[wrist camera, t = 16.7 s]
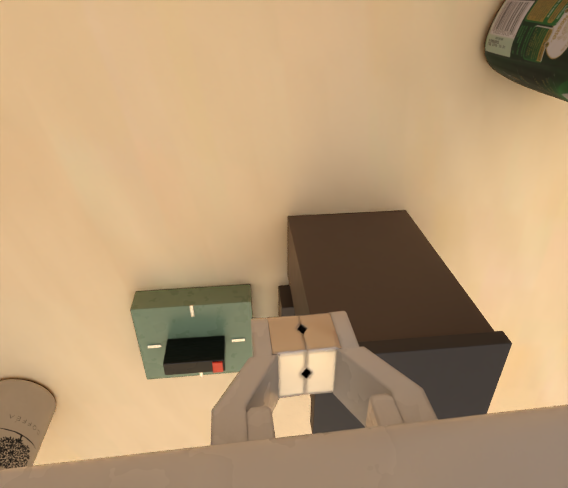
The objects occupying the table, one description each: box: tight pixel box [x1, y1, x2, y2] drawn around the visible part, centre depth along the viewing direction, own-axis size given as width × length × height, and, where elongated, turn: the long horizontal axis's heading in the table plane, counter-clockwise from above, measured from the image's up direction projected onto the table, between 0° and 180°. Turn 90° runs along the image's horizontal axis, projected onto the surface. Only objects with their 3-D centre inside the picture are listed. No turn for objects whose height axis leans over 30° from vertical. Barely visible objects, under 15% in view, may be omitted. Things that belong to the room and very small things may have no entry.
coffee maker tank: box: [288, 210, 512, 434], centre depth 38 cm, size 13×8×19 cm, turn 90°
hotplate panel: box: [131, 284, 253, 379], centre depth 48 cm, size 12×10×3 cm
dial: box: [163, 336, 226, 375], centre depth 45 cm, size 6×2×4 cm, turn 90°
